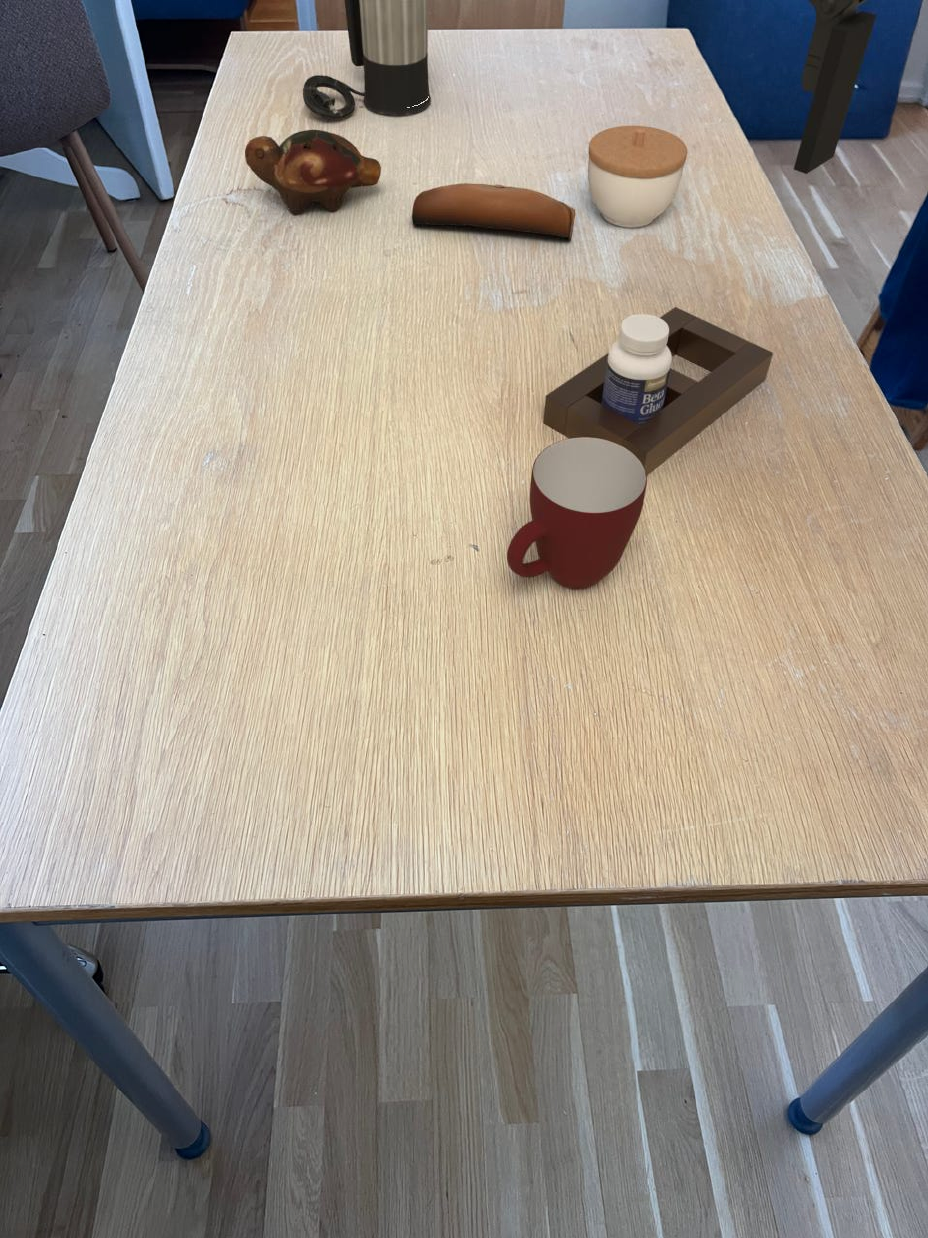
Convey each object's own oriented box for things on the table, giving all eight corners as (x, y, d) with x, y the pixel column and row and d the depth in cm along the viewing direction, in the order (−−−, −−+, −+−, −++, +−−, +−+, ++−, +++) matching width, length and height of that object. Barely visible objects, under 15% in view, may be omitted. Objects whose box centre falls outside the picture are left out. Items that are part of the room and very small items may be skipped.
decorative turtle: (244, 193, 112) (236, 120, 106) (368, 183, 116) (367, 113, 110) (258, 228, 105) (250, 153, 100) (389, 217, 109) (389, 144, 104)
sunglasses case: (577, 204, 109) (579, 168, 103) (569, 260, 108) (571, 227, 102) (425, 191, 111) (418, 154, 105) (416, 245, 110) (408, 212, 104)
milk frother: (445, 98, 129) (443, -28, 118) (378, 141, 121) (370, 10, 109) (361, 76, 134) (352, -48, 123) (291, 116, 125) (274, -13, 114)
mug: (553, 645, 68) (565, 549, 61) (478, 583, 72) (481, 486, 65) (649, 574, 73) (671, 477, 65) (574, 519, 77) (587, 421, 69)
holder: (765, 379, 89) (773, 352, 87) (641, 480, 80) (647, 452, 78) (670, 333, 94) (675, 306, 92) (542, 422, 85) (545, 395, 82)
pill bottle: (642, 448, 83) (659, 353, 75) (588, 426, 84) (600, 332, 77) (669, 416, 85) (689, 321, 78) (617, 395, 87) (631, 301, 80)
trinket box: (673, 194, 112) (687, 111, 105) (677, 240, 105) (693, 155, 98) (582, 190, 113) (591, 107, 106) (581, 235, 106) (590, 150, 99)
